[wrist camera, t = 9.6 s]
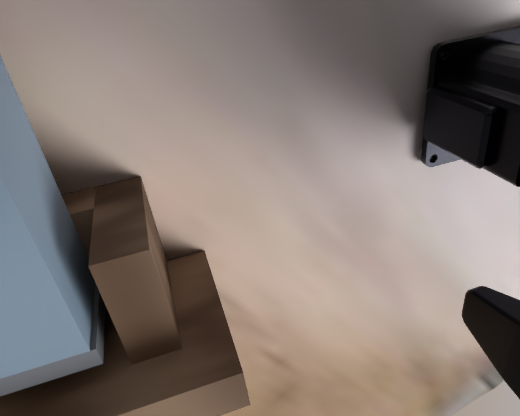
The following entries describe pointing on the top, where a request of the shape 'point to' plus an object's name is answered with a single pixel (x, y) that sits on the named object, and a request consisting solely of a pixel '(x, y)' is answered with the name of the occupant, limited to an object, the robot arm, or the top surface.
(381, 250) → the top surface
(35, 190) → the bed rail
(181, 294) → the headboard posts
